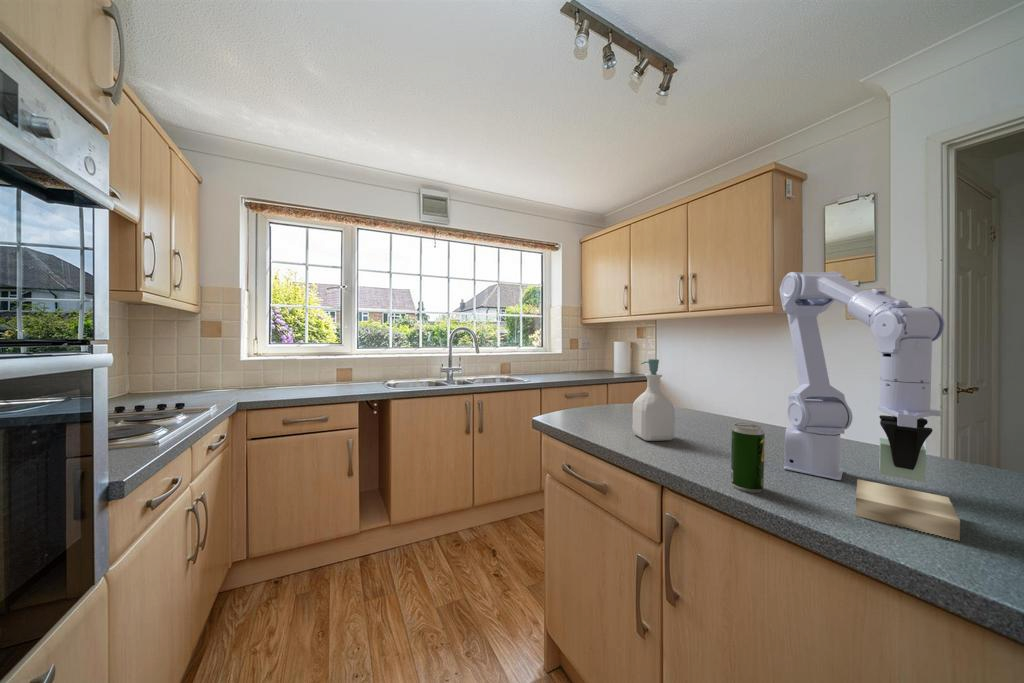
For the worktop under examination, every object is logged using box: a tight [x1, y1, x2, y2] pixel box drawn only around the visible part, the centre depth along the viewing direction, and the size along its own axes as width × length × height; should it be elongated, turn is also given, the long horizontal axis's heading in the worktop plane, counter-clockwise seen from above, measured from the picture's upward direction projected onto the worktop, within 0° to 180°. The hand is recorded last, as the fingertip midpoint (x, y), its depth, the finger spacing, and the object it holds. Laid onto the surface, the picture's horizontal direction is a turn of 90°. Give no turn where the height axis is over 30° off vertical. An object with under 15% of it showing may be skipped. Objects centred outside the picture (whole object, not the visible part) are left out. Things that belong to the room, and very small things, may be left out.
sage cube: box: [878, 437, 927, 483], centre depth 61 cm, size 5×5×5 cm
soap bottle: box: [632, 358, 676, 442], centre depth 107 cm, size 10×10×23 cm
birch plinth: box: [855, 478, 961, 542], centre depth 61 cm, size 11×11×3 cm
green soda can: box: [730, 422, 766, 494], centre depth 72 cm, size 5×5×12 cm
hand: (902, 463), depth 61 cm, fingers closed on sage cube, 5 cm apart
